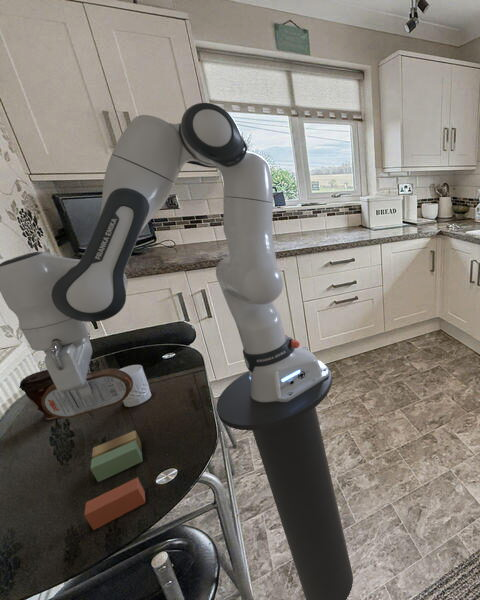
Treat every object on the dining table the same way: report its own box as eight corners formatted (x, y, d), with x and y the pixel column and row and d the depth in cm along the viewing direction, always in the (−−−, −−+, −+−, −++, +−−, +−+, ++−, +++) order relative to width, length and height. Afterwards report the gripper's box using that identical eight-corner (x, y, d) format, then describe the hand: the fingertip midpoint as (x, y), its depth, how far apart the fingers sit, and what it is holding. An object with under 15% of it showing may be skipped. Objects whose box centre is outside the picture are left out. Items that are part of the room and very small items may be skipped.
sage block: (142, 452, 78) (135, 440, 77) (142, 461, 76) (136, 448, 74) (98, 472, 74) (91, 459, 72) (98, 482, 71) (90, 468, 70)
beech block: (141, 442, 82) (135, 430, 80) (141, 450, 79) (135, 437, 78) (100, 460, 77) (92, 447, 76) (99, 469, 74) (91, 456, 73)
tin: (138, 393, 78) (125, 362, 75) (135, 400, 75) (121, 367, 72) (56, 418, 71) (38, 385, 69) (49, 426, 69) (30, 392, 66)
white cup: (115, 406, 97) (102, 378, 94) (142, 390, 104) (130, 363, 100) (133, 410, 95) (120, 381, 91) (159, 393, 101) (148, 365, 98)
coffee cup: (31, 426, 92) (7, 388, 87) (48, 409, 99) (27, 372, 94) (69, 416, 94) (48, 378, 90) (83, 400, 102) (64, 364, 97)
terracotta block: (144, 491, 68) (137, 477, 66) (145, 502, 65) (138, 488, 64) (94, 517, 63) (85, 502, 62) (93, 530, 61) (84, 515, 59)
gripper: (72, 343, 61) (103, 404, 66) (84, 315, 76) (108, 365, 81) (24, 357, 57) (61, 419, 62) (46, 324, 72) (74, 376, 77)
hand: (88, 389), depth 72 cm, fingers closed on tin, 3 cm apart
